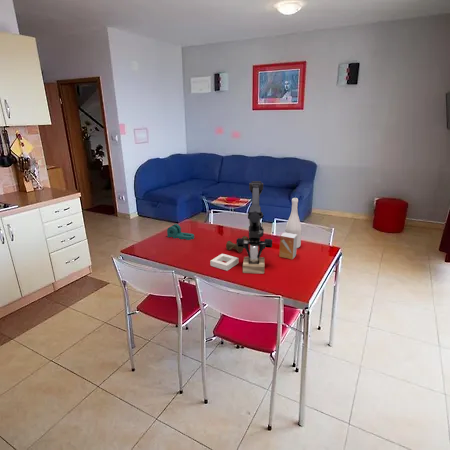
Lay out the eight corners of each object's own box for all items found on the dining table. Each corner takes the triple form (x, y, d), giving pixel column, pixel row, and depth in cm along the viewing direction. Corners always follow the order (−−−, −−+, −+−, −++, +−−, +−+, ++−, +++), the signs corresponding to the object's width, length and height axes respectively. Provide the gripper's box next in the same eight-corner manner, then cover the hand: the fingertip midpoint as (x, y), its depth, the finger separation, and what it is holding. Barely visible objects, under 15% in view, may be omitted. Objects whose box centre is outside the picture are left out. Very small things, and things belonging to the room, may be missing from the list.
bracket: (167, 237, 212) (166, 226, 209) (172, 234, 218) (171, 223, 215) (191, 240, 206) (190, 229, 203) (196, 237, 212) (195, 226, 209)
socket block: (244, 263, 173) (244, 256, 171) (264, 264, 171) (264, 257, 170) (242, 272, 162) (242, 265, 161) (264, 273, 161) (264, 266, 160)
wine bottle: (296, 250, 187) (299, 201, 177) (282, 246, 193) (283, 199, 183) (303, 245, 195) (306, 197, 185) (289, 241, 200) (291, 195, 190)
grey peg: (248, 267, 168) (248, 244, 164) (256, 265, 169) (256, 243, 165) (251, 270, 164) (251, 248, 160) (259, 269, 165) (259, 246, 161)
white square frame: (222, 258, 179) (222, 253, 178) (238, 262, 173) (238, 258, 172) (210, 265, 171) (210, 260, 170) (227, 270, 165) (227, 265, 164)
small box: (279, 256, 179) (279, 235, 175) (282, 252, 185) (283, 232, 180) (292, 259, 176) (294, 238, 171) (296, 255, 181) (297, 234, 176)
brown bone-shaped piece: (252, 245, 198) (236, 256, 182) (239, 242, 203) (222, 253, 187) (252, 236, 196) (235, 246, 180) (239, 233, 201) (221, 243, 185)
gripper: (236, 224, 164) (234, 252, 157) (272, 224, 162) (272, 253, 155) (237, 232, 174) (236, 259, 167) (271, 233, 172) (271, 260, 165)
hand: (253, 258), depth 163 cm, fingers closed on grey peg, 4 cm apart
